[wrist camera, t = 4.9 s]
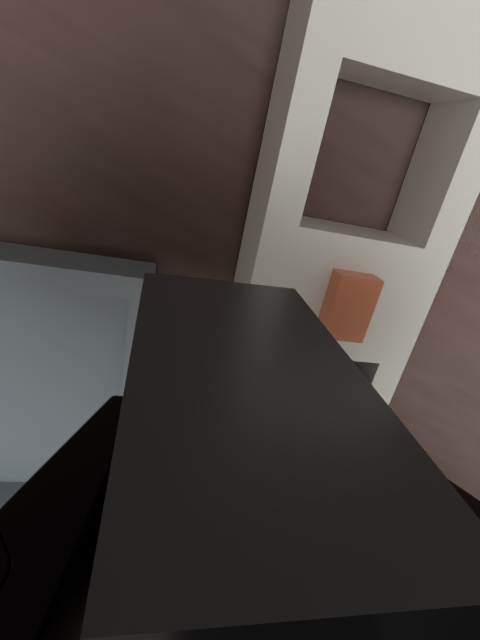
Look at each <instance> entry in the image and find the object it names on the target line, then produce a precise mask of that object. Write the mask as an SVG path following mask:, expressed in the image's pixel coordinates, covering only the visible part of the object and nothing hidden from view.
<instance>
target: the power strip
mask: <svg viewBox="0 0 480 640" xmlns="http://www.w3.org/2000/svg"><path fill="white" fill-rule="evenodd" d="M337 78H339V79H343V80H347V81H350V82H354V83H357V84H361V85H365V86H368V87H372V88H376V89H379V90H383V91H387V92H390V93H394V94H397V95H401V96H405V97H408V98H412V99H416V100H419V101H423V102H427V103H430V106H429V109H428V112H427V115H426V118H425V121H424V124H423V127H422V129H421V132H420V135H419V138H418V141H417V144H416V147H415V150H414V152H413V155H412V158H411V161H410V164H409V167H408V170H407V173H406V175H405V178H404V181H403V184H402V187H401V190H400V193H399V196H398V198H397V201H396V204H395V207H394V210H393V213H392V216H391V219H390V221H389V224H388V227H387V230H386V231H383V230H378V229H372V228H367V227H362V226H356V225H351V224H345V223H340V222H334V221H329V220H323V219H318V218H312V217H307V216H302V214H303V210H304V206H305V203H306V199H307V195H308V191H309V187H310V183H311V179H312V175H313V171H314V168H315V164H316V160H317V156H318V152H319V148H320V144H321V140H322V137H323V133H324V129H325V125H326V121H327V117H328V113H329V109H330V105H331V102H332V98H333V94H334V90H335V86H336V82H337ZM479 192H480V0H290V4H289V9H288V14H287V19H286V24H285V29H284V34H283V39H282V44H281V49H280V54H279V59H278V64H277V69H276V74H275V79H274V83H273V88H272V93H271V98H270V103H269V108H268V113H267V118H266V123H265V128H264V133H263V138H262V143H261V148H260V153H259V158H258V163H257V168H256V173H255V178H254V183H253V188H252V193H251V198H250V202H249V207H248V212H247V217H246V222H245V227H244V232H243V237H242V242H241V247H240V252H239V257H238V262H237V267H236V272H235V277H234V282H238V283H247V284H256V285H265V286H275V287H284V288H293V289H295V290H296V291H297V292H298V293H299V295H300V296H301V297H302V298H303V300H304V301H305V302H306V303H307V305H308V306H309V307H310V308H311V310H312V311H313V312H314V313H315V315H316V316H317V317H318V318H319V320H320V321H321V322H322V323H323V325H324V326H325V327H326V328H327V330H328V331H329V332H330V333H331V335H332V336H333V337H334V338H335V340H336V341H337V342H338V343H339V344H340V346H341V347H342V348H343V349H344V351H345V352H346V353H347V354H348V356H349V357H350V358H351V359H352V361H353V362H354V363H355V364H356V366H357V367H358V368H359V369H360V371H361V372H362V373H363V374H364V376H365V377H366V378H367V379H368V381H369V382H370V383H371V384H372V386H373V387H374V388H375V389H376V391H377V392H378V393H379V394H380V396H381V397H382V398H383V399H384V401H385V402H386V403H387V404H388V406H389V403H390V401H391V399H392V396H393V394H394V392H395V389H396V387H397V384H398V382H399V380H400V377H401V375H402V373H403V370H404V368H405V366H406V363H407V361H408V359H409V356H410V354H411V352H412V349H413V347H414V345H415V342H416V340H417V338H418V335H419V333H420V330H421V328H422V326H423V323H424V321H425V319H426V316H427V314H428V312H429V309H430V307H431V305H432V302H433V300H434V298H435V295H436V293H437V291H438V288H439V286H440V284H441V281H442V279H443V277H444V274H445V272H446V269H447V267H448V265H449V262H450V260H451V258H452V255H453V253H454V251H455V248H456V246H457V244H458V241H459V239H460V237H461V234H462V232H463V230H464V227H465V225H466V223H467V220H468V218H469V215H470V213H471V211H472V208H473V206H474V204H475V201H476V199H477V197H478V194H479Z"/></svg>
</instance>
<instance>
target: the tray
mask: <svg viewBox="0 0 480 640" xmlns="http://www.w3.org/2000/svg"><path fill="white" fill-rule="evenodd" d="M145 273H154V274H155V273H156V263H151V262H144V261H137V260H130V259H122V258H115V257H108V256H101V255H94V254H87V253H80V252H73V251H66V250H58V249H51V248H44V247H37V246H30V245H23V244H16V243H9V242H2V241H0V508H1V507H2V506H3V505H4V504H5V503H6V502H7V501H8V500H9V499H10V498H11V497H12V496H13V495H14V494H15V493H16V492H17V491H18V490H19V489H20V488H21V487H22V486H23V485H24V484H25V483H26V482H27V481H28V480H29V479H30V478H31V477H32V476H33V475H34V474H35V473H36V471H37V470H38V469H39V468H40V467H41V466H42V465H43V464H44V463H45V462H46V461H47V460H48V459H49V458H50V457H51V456H52V455H53V454H54V453H55V452H56V451H57V450H58V449H59V448H60V447H61V446H62V445H63V444H64V443H65V442H66V441H67V440H68V439H69V438H70V437H71V436H72V435H73V434H74V433H75V432H76V431H77V430H78V429H79V428H80V427H81V426H82V425H83V424H84V423H85V422H86V421H87V420H88V419H89V418H90V417H91V416H92V415H93V414H94V413H95V412H96V411H97V410H98V409H99V408H100V407H101V406H102V405H103V404H104V403H105V402H106V401H107V400H108V399H109V398H110V397H112V396H114V395H118V396H123V393H124V387H125V382H126V376H127V370H128V365H129V359H130V353H131V347H132V342H133V336H134V330H135V325H136V319H137V313H138V308H139V302H140V296H141V291H142V285H143V279H144V274H145Z"/></svg>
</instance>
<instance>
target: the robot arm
mask: <svg viewBox="0 0 480 640" xmlns="http://www.w3.org/2000/svg"><path fill="white" fill-rule="evenodd" d="M122 399H123V396H118V395H114V396H112V397H110V398H109V399H108V400H107V401H106V402H105V403H104V404H103V405H102V406H101V407H100V408H99V409H98V410H97V411H96V412H95V413H94V414H93V415H92V416H91V417H90V418H89V419H88V420H87V421H86V422H85V423H84V424H83V425H82V426H81V427H80V428H79V429H78V430H77V431H76V432H75V433H74V434H73V435H72V436H71V437H70V438H69V439H68V440H67V441H66V442H65V443H64V444H63V445H62V446H61V447H60V448H59V449H58V450H57V451H56V452H55V453H54V454H53V455H52V456H51V457H50V458H49V459H48V460H47V461H46V462H45V463H44V464H43V465H42V466H41V467H40V468H39V469H38V470H37V471H36V473H35V474H34V475H33V476H32V477H31V478H30V479H29V480H28V481H27V482H26V483H25V484H24V485H23V486H22V487H21V488H20V489H19V490H18V491H17V492H16V493H15V494H14V495H13V496H12V497H11V498H10V499H9V500H8V501H7V502H6V503H5V504H4V505H3V506H2V507H1V508H0V640H80V637H81V632H82V626H83V620H84V615H85V609H86V603H87V598H88V592H89V586H90V581H91V575H92V569H93V564H94V558H95V552H96V546H97V541H98V535H99V529H100V524H101V518H102V512H103V507H104V501H105V495H106V490H107V484H108V478H109V473H110V467H111V461H112V455H113V450H114V444H115V438H116V433H117V427H118V421H119V416H120V410H121V404H122ZM448 481H449V482H450V483H451V484H452V486H453V487H454V488H455V489H456V491H457V492H458V493H459V494H460V496H461V497H462V498H463V499H464V501H465V502H466V503H467V504H468V506H469V507H470V508H471V509H472V511H473V512H474V513H475V514H476V516H477V517H478V518H479V519H480V501H479V500H478V499H476V498H475V497H473V496H472V495H470V494H469V493H467V492H466V491H464V490H463V489H462V488H460V487H459V486H457V485H456V484H454V483H453V482H451V481H450V480H448Z"/></svg>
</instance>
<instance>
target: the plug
mask: <svg viewBox="0 0 480 640" xmlns="http://www.w3.org/2000/svg"><path fill="white" fill-rule="evenodd" d="M80 640H480V519H479V518H478V517H477V516H476V514H475V513H474V512H473V511H472V509H471V508H470V507H469V506H468V504H467V503H466V502H465V501H464V499H463V498H462V497H461V496H460V494H459V493H458V492H457V491H456V489H455V488H454V487H453V486H452V484H451V483H450V482H449V481H448V479H447V478H446V477H445V476H444V474H443V473H442V472H441V471H440V469H439V468H438V467H437V466H436V464H435V463H434V462H433V461H432V459H431V458H430V457H429V456H428V454H427V453H426V452H425V451H424V449H423V448H422V447H421V446H420V444H419V443H418V442H417V441H416V439H415V438H414V437H413V436H412V434H411V433H410V432H409V431H408V429H407V428H406V427H405V426H404V424H403V423H402V422H401V421H400V419H399V418H398V417H397V416H396V414H395V413H394V412H393V411H392V409H391V408H390V407H389V406H388V404H387V403H386V402H385V401H384V399H383V398H382V397H381V396H380V394H379V393H378V392H377V391H376V389H375V388H374V387H373V386H372V384H371V383H370V382H369V381H368V379H367V378H366V377H365V376H364V374H363V373H362V372H361V371H360V369H359V368H358V367H357V366H356V364H355V363H354V362H353V361H352V359H351V358H350V357H349V356H348V354H347V353H346V352H345V351H344V349H343V348H342V347H341V346H340V344H339V343H338V342H337V341H336V340H335V338H334V337H333V336H332V335H331V333H330V332H329V331H328V330H327V328H326V327H325V326H324V325H323V323H322V322H321V321H320V320H319V318H318V317H317V316H316V315H315V313H314V312H313V311H312V310H311V308H310V307H309V306H308V305H307V303H306V302H305V301H304V300H303V298H302V297H301V296H300V295H299V293H298V292H297V291H296V290H295V289H293V288H284V287H275V286H265V285H256V284H247V283H238V282H228V281H219V280H210V279H201V278H191V277H182V276H173V275H164V274H154V273H145V274H144V279H143V285H142V291H141V296H140V302H139V308H138V313H137V319H136V325H135V330H134V336H133V342H132V347H131V353H130V359H129V365H128V370H127V376H126V382H125V387H124V393H123V399H122V404H121V410H120V416H119V421H118V427H117V433H116V438H115V444H114V450H113V455H112V461H111V467H110V473H109V478H108V484H107V490H106V495H105V501H104V507H103V512H102V518H101V524H100V529H99V535H98V541H97V546H96V552H95V558H94V564H93V569H92V575H91V581H90V586H89V592H88V598H87V603H86V609H85V615H84V620H83V626H82V632H81V637H80Z"/></svg>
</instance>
